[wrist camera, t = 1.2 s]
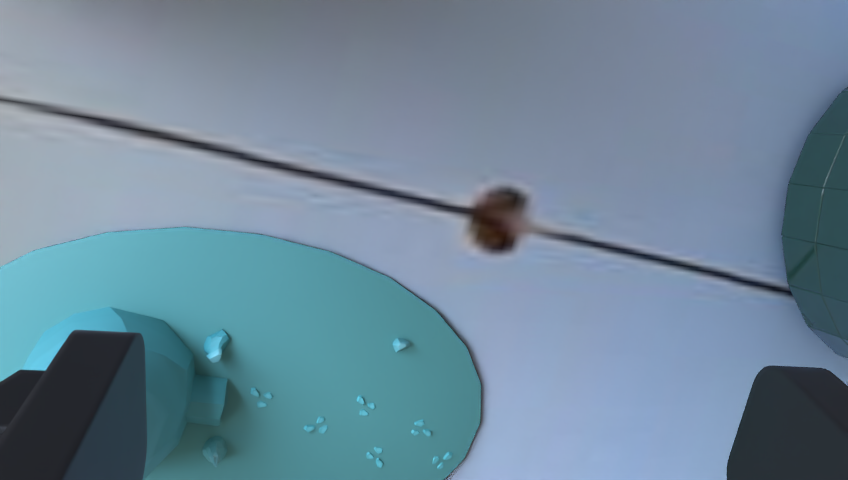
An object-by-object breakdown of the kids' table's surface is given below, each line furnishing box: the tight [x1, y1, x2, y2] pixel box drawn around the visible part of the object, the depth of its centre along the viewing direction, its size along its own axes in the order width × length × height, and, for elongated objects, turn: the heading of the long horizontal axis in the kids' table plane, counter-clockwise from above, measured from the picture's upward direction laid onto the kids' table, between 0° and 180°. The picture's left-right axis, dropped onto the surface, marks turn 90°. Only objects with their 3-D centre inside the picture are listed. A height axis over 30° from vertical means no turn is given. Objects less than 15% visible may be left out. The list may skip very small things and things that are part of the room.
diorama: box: [0, 227, 481, 480], centre depth 23 cm, size 12×20×9 cm, turn 78°
